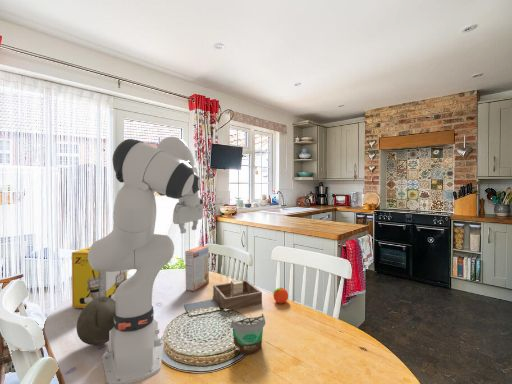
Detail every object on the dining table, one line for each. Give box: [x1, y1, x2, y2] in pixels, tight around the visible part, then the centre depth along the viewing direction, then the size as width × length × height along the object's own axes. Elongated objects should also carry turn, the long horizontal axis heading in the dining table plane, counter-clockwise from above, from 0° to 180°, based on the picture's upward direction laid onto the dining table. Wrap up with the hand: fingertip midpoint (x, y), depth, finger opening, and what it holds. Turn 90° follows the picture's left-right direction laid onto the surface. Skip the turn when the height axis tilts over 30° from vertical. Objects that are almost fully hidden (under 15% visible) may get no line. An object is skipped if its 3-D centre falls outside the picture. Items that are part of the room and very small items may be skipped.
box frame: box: [212, 279, 263, 311], centre depth 128 cm, size 18×18×6 cm
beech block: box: [230, 279, 244, 297], centre depth 127 cm, size 4×4×9 cm
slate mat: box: [183, 298, 221, 312], centre depth 119 cm, size 12×14×1 cm
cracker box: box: [184, 245, 210, 292], centre depth 145 cm, size 14×6×21 cm, turn 156°
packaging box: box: [71, 246, 128, 309], centre depth 127 cm, size 16×16×25 cm
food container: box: [230, 313, 266, 355], centre depth 88 cm, size 12×6×10 cm, turn 114°
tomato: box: [272, 287, 289, 304], centre depth 124 cm, size 8×7×7 cm
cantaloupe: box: [76, 297, 116, 346], centre depth 92 cm, size 14×14×15 cm
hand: (188, 231), depth 122 cm, fingers open, 8 cm apart
